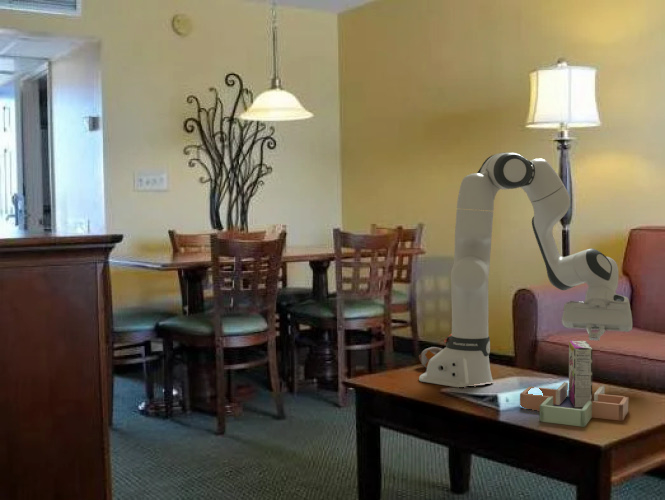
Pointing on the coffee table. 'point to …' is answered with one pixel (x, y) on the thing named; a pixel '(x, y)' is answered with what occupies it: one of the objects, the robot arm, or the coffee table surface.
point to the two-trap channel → (598, 408)
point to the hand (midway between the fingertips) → (593, 339)
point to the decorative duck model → (428, 355)
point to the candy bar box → (580, 373)
